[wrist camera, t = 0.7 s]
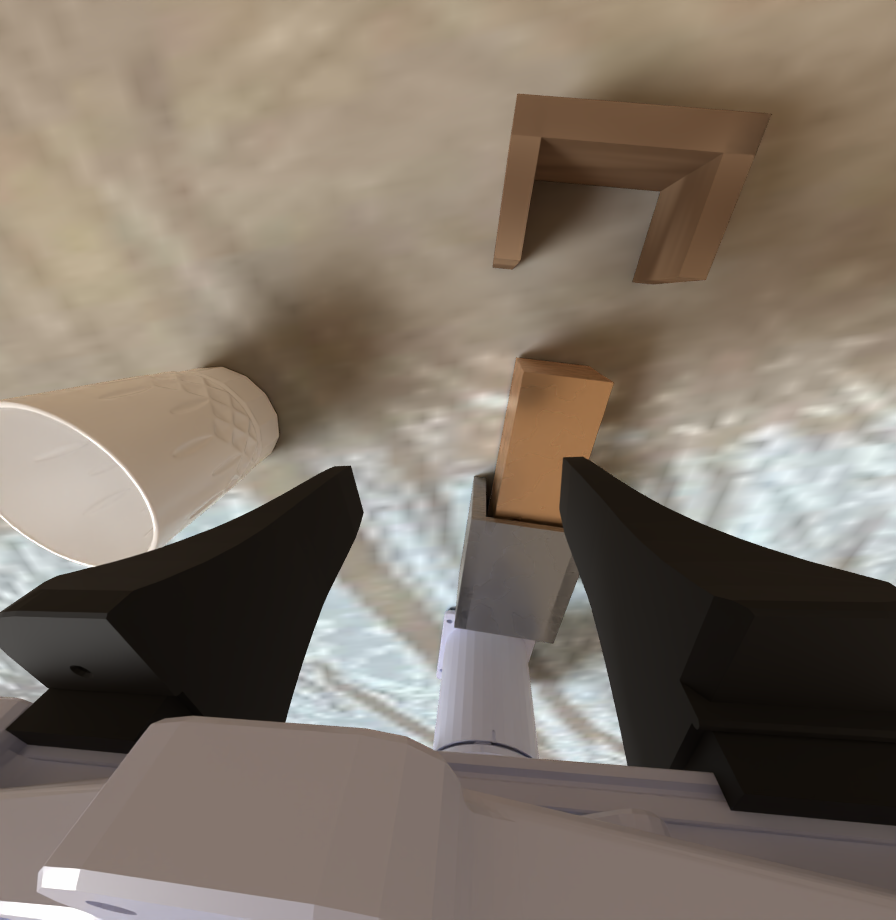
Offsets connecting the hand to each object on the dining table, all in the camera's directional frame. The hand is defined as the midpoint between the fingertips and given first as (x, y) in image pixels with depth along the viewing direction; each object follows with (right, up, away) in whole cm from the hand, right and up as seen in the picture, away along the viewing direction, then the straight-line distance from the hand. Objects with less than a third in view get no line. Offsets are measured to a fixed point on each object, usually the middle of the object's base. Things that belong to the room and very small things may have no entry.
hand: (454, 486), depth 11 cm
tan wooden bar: (+5, -1, +11) cm, 12 cm away
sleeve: (+4, -5, +13) cm, 14 cm away
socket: (+6, +12, +4) cm, 14 cm away
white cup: (-15, +4, +11) cm, 19 cm away
